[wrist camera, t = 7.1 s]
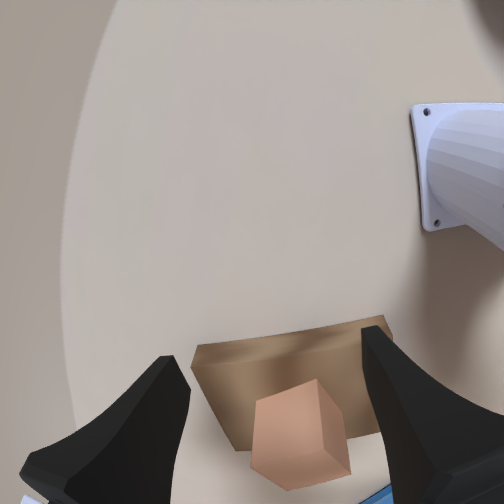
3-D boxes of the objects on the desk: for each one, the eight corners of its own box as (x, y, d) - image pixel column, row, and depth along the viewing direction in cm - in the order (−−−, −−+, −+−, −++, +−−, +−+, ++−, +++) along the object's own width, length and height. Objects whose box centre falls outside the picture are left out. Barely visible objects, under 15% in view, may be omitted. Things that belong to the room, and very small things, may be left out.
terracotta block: (316, 378, 20) (323, 448, 15) (341, 412, 22) (351, 474, 17) (256, 400, 22) (250, 467, 16) (287, 431, 23) (287, 490, 18)
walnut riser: (382, 314, 21) (392, 335, 19) (379, 411, 25) (384, 430, 23) (197, 345, 23) (190, 367, 21) (238, 431, 28) (235, 451, 25)
